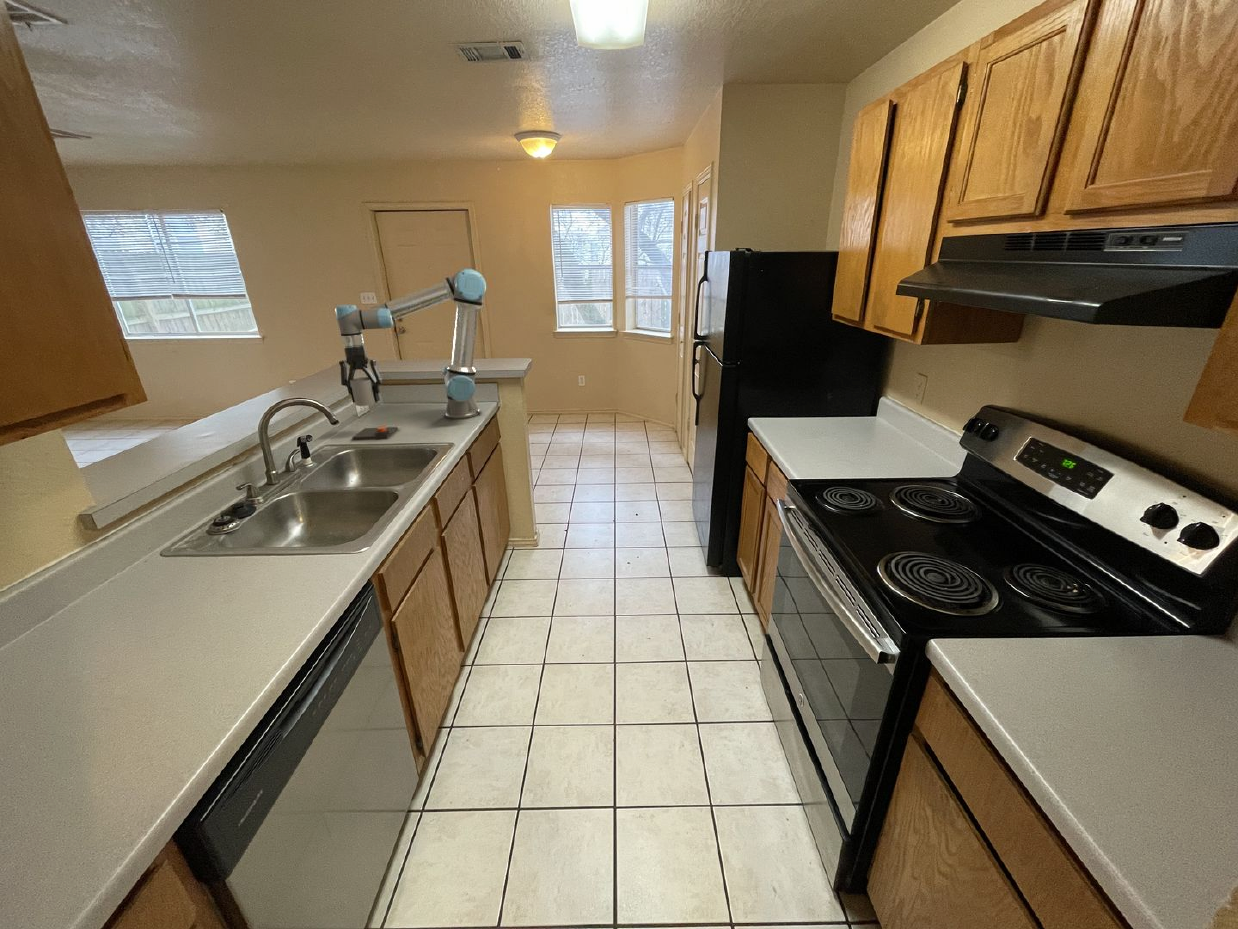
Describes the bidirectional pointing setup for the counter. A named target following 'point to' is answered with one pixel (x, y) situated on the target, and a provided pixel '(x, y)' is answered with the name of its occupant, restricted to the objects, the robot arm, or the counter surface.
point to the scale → (375, 433)
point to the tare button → (381, 429)
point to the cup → (363, 391)
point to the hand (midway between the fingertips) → (366, 401)
